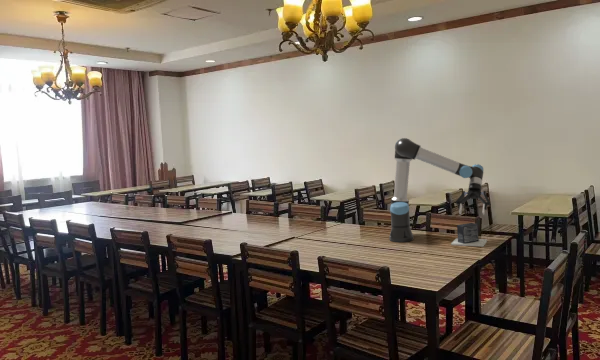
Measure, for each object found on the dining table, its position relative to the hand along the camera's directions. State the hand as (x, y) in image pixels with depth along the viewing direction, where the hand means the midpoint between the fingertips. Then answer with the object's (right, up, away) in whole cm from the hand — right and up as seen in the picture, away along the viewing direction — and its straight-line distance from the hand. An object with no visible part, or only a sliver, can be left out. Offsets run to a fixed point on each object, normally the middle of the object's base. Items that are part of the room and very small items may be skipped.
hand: (471, 213), depth 289 cm
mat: (-4, -17, -6) cm, 19 cm away
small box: (-4, -16, -7) cm, 18 cm away
